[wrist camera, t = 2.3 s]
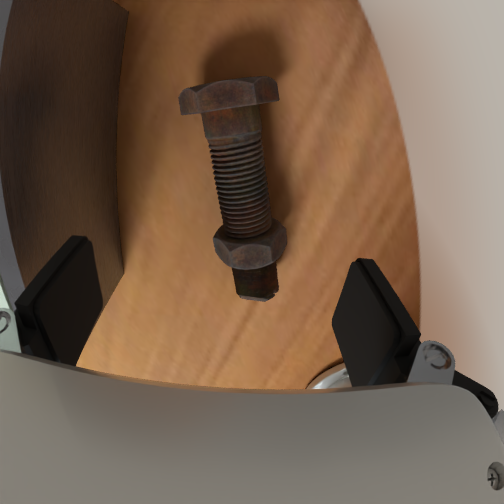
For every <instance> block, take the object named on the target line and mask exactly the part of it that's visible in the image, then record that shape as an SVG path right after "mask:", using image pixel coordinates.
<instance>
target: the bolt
mask: <svg viewBox="0 0 504 504" xmlns="http://www.w3.org/2000/svg"><path fill="white" fill-rule="evenodd" d="M274 101H279V94H278V86H277V82H276V81H274V80H273V79H272V78H270V77H267V76H260V77H248V78H239V79H231V80H222V81H217V82H212V83H207V84H202V85H198V86H194V87H190V88H186V89H184V90H183V91H182V92H181V94H180V96H179V104H180V110H181V115H188V114H198V113H201V115H202V121H203V126H204V132H205V137H206V138H207V140H208V143H209V148H211V149H212V150H210V153H211V154H213V155H211V159H213V160H212V164H214V166H213V167H212V168H213V169H214V170H215V171H214V172H213V174H214V175H216V176H215V177H214V180H215V181H216V182H215V185H216V186H217V187H216V190H218V192H217V194H218V200H220V201H219V204H220V209H221V214H222V219H223V225H222V226H221V227H220V228H219V229H218V230H217V232H216V234H215V235H214V237H213V242H214V247H215V251H216V253H217V255H218V256H219V257H220V259H221V260H222V261H223V262H224V263H225V264H226V265H228V266H229V267H232V271H233V276H234V281H235V286H236V292H237V294H238V295H239V296H240V298H242V299H247V300H255V301H264V302H265V301H267V300H269V299H271V298H273V297H274V296H275V294H273V293H277V292H278V290H279V285H278V279H277V268H276V260H277V259H278V258H279V257H280V256H281V254H282V253H283V251H284V249H285V247H286V244H287V235H286V228H285V227H284V226H283V225H282V224H281V223H280V222H279V221H277V220H276V219H275V218H272V217H271V211H270V206H269V205H270V202H269V196H268V195H269V193H268V187H267V184H268V183H267V181H266V180H267V177H266V171H264V170H265V166H264V164H265V161H263V160H264V156H263V153H264V152H263V150H262V149H263V146H262V145H261V144H262V140H261V139H260V138H261V137H262V136H261V130H262V124H261V116H260V109H259V104H262V103H268V102H274Z"/></svg>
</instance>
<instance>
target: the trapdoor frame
mask: <svg viewBox="0 0 504 504" xmlns="http://www.w3.org/2000/svg"><path fill="white" fill-rule="evenodd" d="M128 14H129V11H127V10H126V9H124V8H123V7H121V6H120V5H118V4H117V3H115V2H113V1H112V0H0V274H1V277H2V280H3V283H4V286H5V289H6V292H7V294H8V297H9V300H10V302H11V305H12V308H13V310H14V311H15V310H16V306H15V304H14V303H15V301H16V300H17V299H18V297H19V296H20V295H21V294H22V292H23V291H24V290H25V288H26V287H27V286H28V285H29V283H30V282H31V281H32V280H33V279H34V277H35V276H36V275H37V274H38V273H39V271H40V270H41V269H42V268H43V267H44V265H45V264H46V263H47V262H48V261H49V260H50V259H51V257H52V256H53V255H54V254H55V253H56V252H57V251H58V250H59V249H60V247H61V246H62V245H63V244H64V243H65V242H66V241H67V240H68V239H69V238H70V237H71V236H72V235H78V236H86V237H87V238H88V240H90V241H91V242H92V244H93V250H94V256H95V262H96V268H97V273H98V278H99V283H100V288H101V293H102V297H103V308H102V310H101V312H100V314H99V316H98V318H97V320H96V322H95V324H96V323H97V321H98V319H99V317H100V315H101V313H102V311H103V310H104V308H105V306H106V304H107V302H108V301H109V299H110V297H111V295H112V293H113V292H114V290H115V288H116V286H117V285H118V283H119V281H120V280H121V278H122V276H123V275H124V270H123V261H122V252H121V242H120V231H119V218H118V201H117V171H116V139H117V110H118V94H119V81H120V71H121V62H122V53H123V45H124V38H125V32H126V25H127V20H128ZM95 324H94V326H95ZM94 326H93V328H94ZM92 330H93V329H92ZM91 332H92V331H91ZM90 334H91V333H90ZM89 336H90V335H89ZM88 338H89V337H88ZM87 340H88V339H87ZM86 342H87V341H86ZM85 344H86V343H85Z"/></svg>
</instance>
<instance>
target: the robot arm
mask: <svg viewBox="0 0 504 504" xmlns="http://www.w3.org/2000/svg"><path fill="white" fill-rule="evenodd" d="M14 304H15V306H16V310H15V311H14V312H13V311H12V310H11V309H8V308H0V504H504V411H503V410H500V411H499V412H498V402H497V399H496V397H495V395H494V394H493V392H491V391H490V390H489V389H488V388H486V387H484V386H482V385H481V384H479V383H477V382H475V381H473V380H472V379H470V378H468V377H466V376H465V375H463V374H461V373H459V372H457V371H456V370H455V359H454V356H453V355H452V353H451V351H450V350H449V349H448V348H446V346H444V345H443V344H441V343H439V342H436V341H430V340H429V341H424V342H423V343H421V342H420V340H419V338H420V336H421V333H420V332H419V330H418V328H417V326H416V325H415V323H414V321H413V320H412V318H411V317H410V315H409V313H408V312H407V310H406V308H405V307H404V305H403V304H402V302H401V301H400V299H399V297H398V296H397V294H396V293H395V291H394V290H393V288H392V287H391V285H390V284H389V282H388V280H387V279H386V277H385V276H384V275H383V273H382V272H381V270H380V269H379V267H378V266H377V264H376V263H375V261H374V260H373V259H364V258H358V259H357V260H356V261H355V262H352V263H351V265H350V268H349V271H348V274H347V278H346V281H345V283H344V286H343V289H342V292H341V295H340V298H339V301H338V304H337V307H336V309H335V312H334V315H333V318H332V327H333V330H334V333H335V336H336V339H337V342H338V345H339V348H340V351H341V354H342V357H343V360H344V363H342V364H339V365H337V366H335V367H333V368H331V369H329V370H327V371H325V372H324V373H322V374H321V375H319V376H318V377H317V378H316V379H315V380H313V381H312V382H311V383H310V385H309V386H308V387H307V388H306V389H293V390H274V389H238V388H220V387H206V386H194V385H184V384H175V383H167V382H159V381H152V380H145V379H138V378H132V377H126V376H120V375H114V374H109V373H104V372H99V371H94V370H89V369H85V368H80V367H76V364H77V361H78V359H79V357H80V355H81V352H82V350H83V348H84V346H85V343H86V341H87V339H88V337H89V335H90V333H91V331H92V329H93V326H94V324H95V322H96V320H97V318H98V316H99V314H100V312H101V310H102V308H103V297H102V293H101V288H100V283H99V278H98V273H97V268H96V262H95V256H94V250H93V244H92V242H91V241H90V240H88V238H87V237H86V236H78V235H72V236H71V237H70V238H69V239H68V240H67V241H66V242H65V243H64V244H63V245H62V246H61V247H60V249H59V250H58V251H57V252H56V253H55V254H54V255H53V256H52V257H51V259H50V260H49V261H48V262H47V263H46V264H45V265H44V267H43V268H42V269H41V270H40V271H39V273H38V274H37V275H36V276H35V277H34V279H33V280H32V281H31V282H30V283H29V285H28V286H27V287H26V288H25V290H24V291H23V292H22V294H21V295H20V296H19V297H18V299H17V300H16V301H15V303H14Z"/></svg>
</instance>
